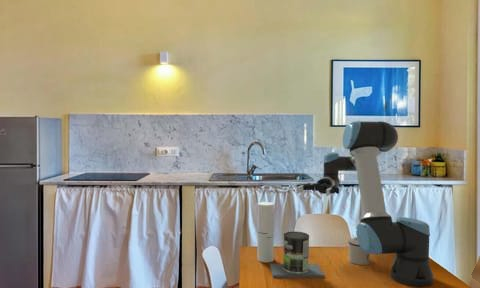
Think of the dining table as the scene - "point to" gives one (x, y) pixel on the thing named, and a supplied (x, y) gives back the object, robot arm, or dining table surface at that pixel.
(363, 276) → the dining table surface
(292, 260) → the coffee can
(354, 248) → the teacup with lid
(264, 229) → the cylindrical container
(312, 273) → the slate board
